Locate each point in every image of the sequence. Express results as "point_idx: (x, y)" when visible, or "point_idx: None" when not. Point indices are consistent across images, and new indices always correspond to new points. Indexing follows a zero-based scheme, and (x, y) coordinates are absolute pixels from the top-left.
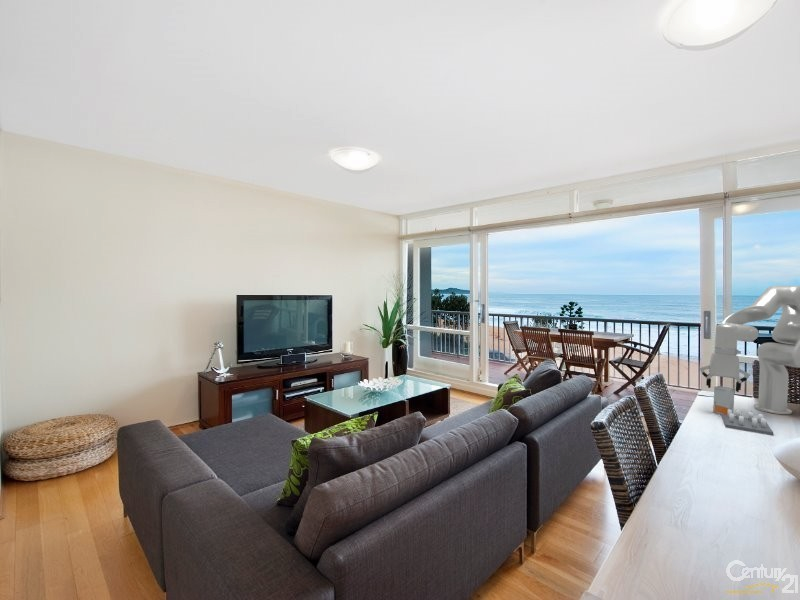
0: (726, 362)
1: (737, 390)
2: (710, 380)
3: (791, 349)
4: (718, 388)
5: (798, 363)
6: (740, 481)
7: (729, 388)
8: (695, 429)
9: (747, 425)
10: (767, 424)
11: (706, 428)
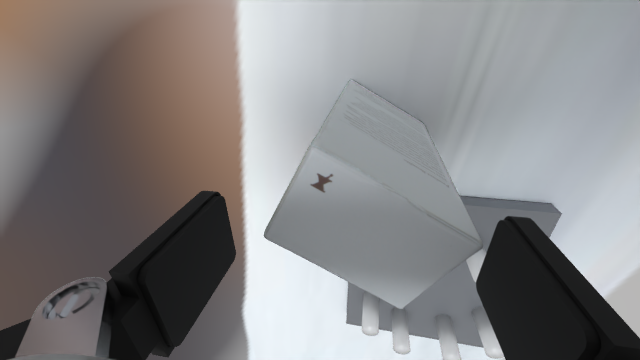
0: None
1: (488, 304)
2: (179, 338)
3: None
4: (304, 253)
5: None
6: None
7: (419, 252)
8: (270, 348)
9: (422, 311)
10: None
11: (294, 336)
